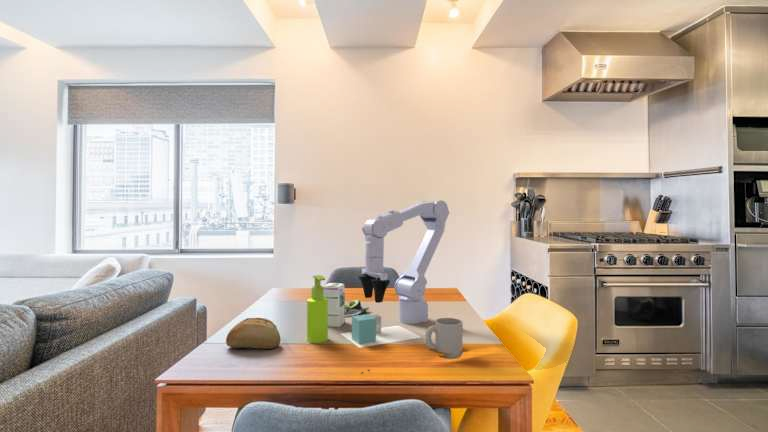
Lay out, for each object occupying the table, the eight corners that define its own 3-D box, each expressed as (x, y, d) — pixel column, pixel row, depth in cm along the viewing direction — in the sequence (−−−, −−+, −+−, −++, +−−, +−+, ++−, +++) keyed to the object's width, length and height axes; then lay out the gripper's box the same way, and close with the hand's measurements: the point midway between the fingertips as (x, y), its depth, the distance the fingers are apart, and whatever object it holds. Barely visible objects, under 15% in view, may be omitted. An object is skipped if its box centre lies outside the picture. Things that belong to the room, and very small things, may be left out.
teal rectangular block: (368, 336, 120) (368, 314, 120) (375, 341, 115) (376, 318, 115) (351, 339, 117) (351, 316, 117) (359, 344, 113) (359, 320, 113)
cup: (465, 358, 106) (465, 324, 106) (427, 359, 106) (427, 325, 106) (458, 349, 113) (458, 317, 113) (423, 350, 113) (423, 318, 113)
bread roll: (232, 342, 119) (232, 315, 119) (283, 341, 120) (283, 314, 120) (221, 353, 110) (221, 324, 109) (277, 352, 111) (277, 323, 110)
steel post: (377, 330, 126) (377, 314, 126) (381, 332, 123) (381, 316, 123) (369, 331, 125) (369, 315, 125) (373, 334, 122) (373, 317, 122)
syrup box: (339, 331, 130) (340, 286, 130) (322, 330, 131) (322, 285, 131) (345, 326, 135) (345, 283, 135) (328, 325, 137) (328, 282, 136)
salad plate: (351, 324, 140) (351, 310, 140) (306, 319, 146) (306, 306, 146) (372, 311, 158) (372, 299, 158) (331, 307, 164) (331, 295, 164)
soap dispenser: (311, 350, 112) (311, 278, 112) (304, 343, 118) (304, 274, 118) (331, 347, 115) (332, 276, 114) (323, 340, 121) (324, 273, 120)
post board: (398, 329, 132) (398, 325, 132) (421, 342, 119) (421, 337, 119) (340, 338, 123) (340, 333, 123) (359, 353, 110) (359, 347, 110)
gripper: (353, 255, 133) (352, 296, 133) (373, 259, 120) (371, 305, 120) (373, 254, 136) (372, 295, 136) (393, 259, 124) (392, 303, 123)
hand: (373, 299), depth 129 cm, fingers open, 7 cm apart
